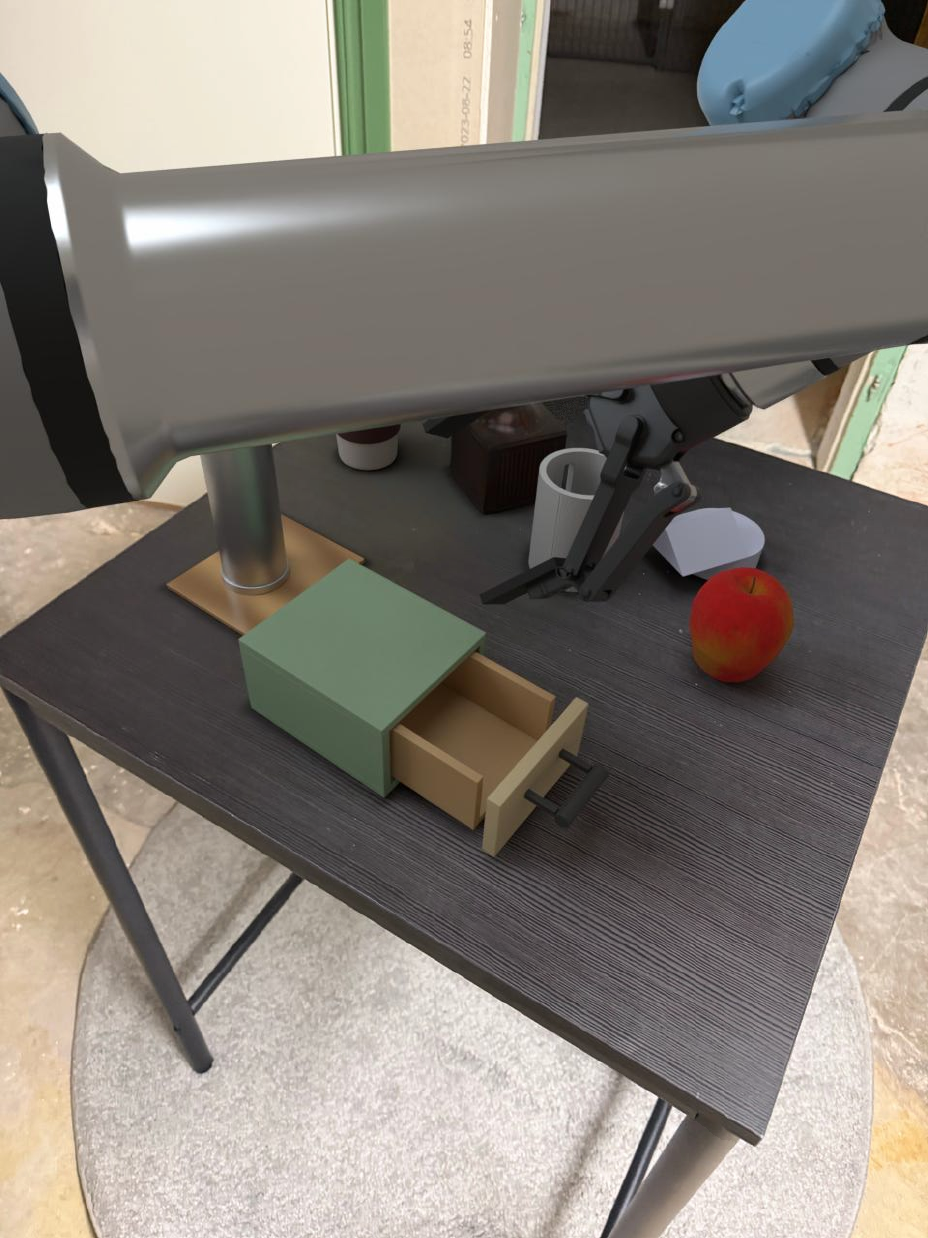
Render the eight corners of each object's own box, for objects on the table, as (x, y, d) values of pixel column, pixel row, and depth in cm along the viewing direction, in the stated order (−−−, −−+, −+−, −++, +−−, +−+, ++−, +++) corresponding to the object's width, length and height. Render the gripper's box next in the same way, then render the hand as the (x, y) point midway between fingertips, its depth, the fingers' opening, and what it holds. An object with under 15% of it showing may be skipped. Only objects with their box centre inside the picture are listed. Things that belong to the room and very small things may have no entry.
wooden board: (255, 644, 84) (254, 640, 84) (167, 588, 90) (166, 583, 89) (364, 562, 94) (364, 558, 94) (279, 516, 99) (278, 512, 99)
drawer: (620, 780, 73) (634, 728, 68) (539, 888, 66) (549, 838, 61) (444, 677, 81) (446, 624, 76) (353, 763, 73) (349, 710, 69)
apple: (755, 719, 80) (795, 625, 72) (663, 681, 83) (690, 587, 75) (780, 657, 86) (820, 564, 78) (693, 624, 89) (722, 531, 81)
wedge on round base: (676, 600, 92) (773, 570, 96) (690, 551, 87) (791, 521, 91) (629, 550, 97) (723, 524, 102) (640, 501, 93) (737, 476, 97)
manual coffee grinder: (520, 450, 111) (533, 315, 99) (561, 497, 104) (581, 358, 92) (407, 474, 106) (406, 335, 94) (442, 526, 99) (446, 382, 87)
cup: (576, 604, 91) (593, 511, 82) (511, 563, 95) (521, 471, 87) (627, 565, 95) (648, 474, 87) (563, 528, 100) (577, 438, 92)
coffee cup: (377, 426, 114) (374, 316, 104) (423, 460, 109) (425, 348, 98) (313, 451, 109) (303, 338, 99) (358, 487, 104) (352, 372, 94)
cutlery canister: (293, 590, 89) (263, 356, 72) (223, 599, 88) (175, 362, 70) (286, 548, 94) (257, 319, 76) (220, 556, 93) (175, 324, 75)
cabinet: (481, 700, 80) (486, 632, 74) (384, 798, 72) (381, 731, 66) (353, 625, 87) (349, 557, 81) (251, 707, 79) (237, 639, 72)
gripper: (826, 552, 52) (544, 670, 64) (678, 207, 57) (443, 375, 69) (789, 546, 46) (486, 678, 58) (628, 160, 51) (380, 354, 63)
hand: (462, 513), depth 63 cm, fingers open, 13 cm apart
